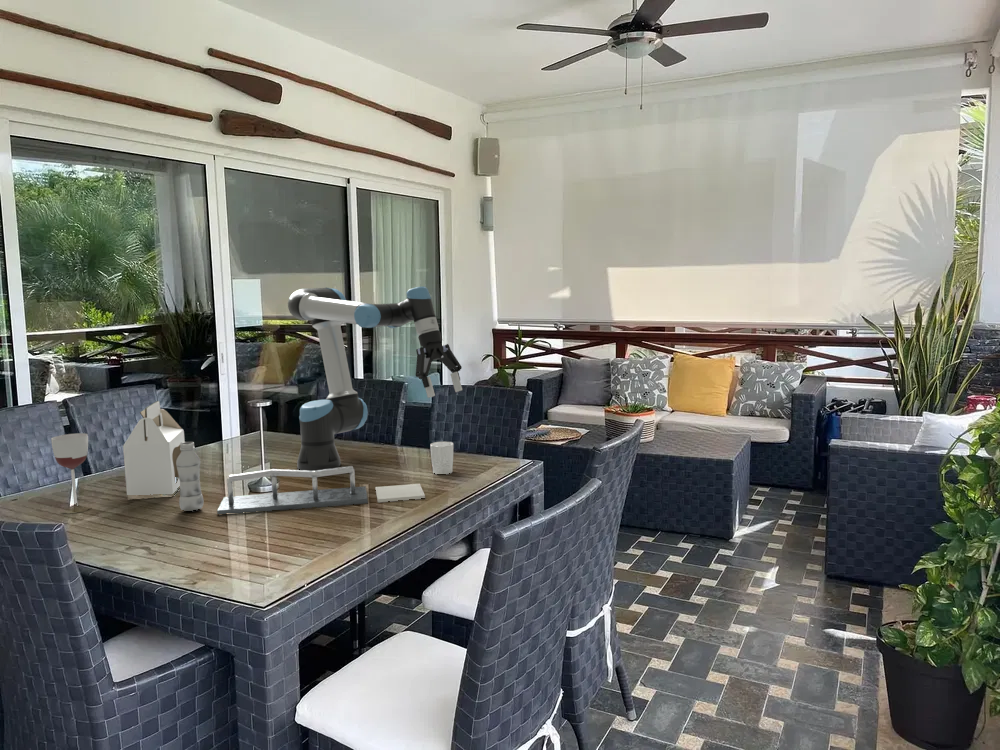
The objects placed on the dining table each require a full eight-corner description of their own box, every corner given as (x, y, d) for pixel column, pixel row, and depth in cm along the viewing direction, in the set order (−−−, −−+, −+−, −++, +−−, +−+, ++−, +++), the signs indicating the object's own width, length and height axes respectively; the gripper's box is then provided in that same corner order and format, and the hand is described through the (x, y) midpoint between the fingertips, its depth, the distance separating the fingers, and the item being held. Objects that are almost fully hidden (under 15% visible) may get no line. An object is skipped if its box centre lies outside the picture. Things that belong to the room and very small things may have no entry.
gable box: (145, 482, 247) (139, 400, 244) (187, 479, 250) (181, 398, 246) (127, 501, 225) (119, 411, 222) (173, 497, 228) (166, 408, 225)
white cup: (455, 469, 256) (455, 441, 255) (452, 475, 248) (451, 446, 247) (433, 469, 257) (432, 441, 255) (429, 475, 249) (428, 446, 248)
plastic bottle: (209, 508, 215) (204, 441, 213) (190, 515, 209) (185, 446, 207) (193, 506, 218) (188, 440, 216) (174, 512, 212) (169, 444, 209)
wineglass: (101, 506, 220) (94, 434, 217) (73, 515, 211) (66, 440, 208) (79, 504, 223) (72, 432, 220) (50, 513, 214) (43, 439, 211)
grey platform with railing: (224, 501, 222) (222, 469, 221) (365, 490, 231) (364, 459, 230) (217, 515, 208) (215, 481, 207) (367, 503, 217) (366, 470, 216)
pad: (375, 490, 232) (375, 487, 232) (419, 486, 235) (419, 483, 235) (377, 502, 218) (377, 499, 218) (425, 498, 221) (424, 495, 221)
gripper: (409, 332, 233) (427, 396, 231) (461, 326, 252) (477, 386, 251) (394, 338, 238) (411, 402, 236) (445, 333, 257) (461, 391, 256)
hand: (445, 394), depth 244 cm, fingers open, 13 cm apart
